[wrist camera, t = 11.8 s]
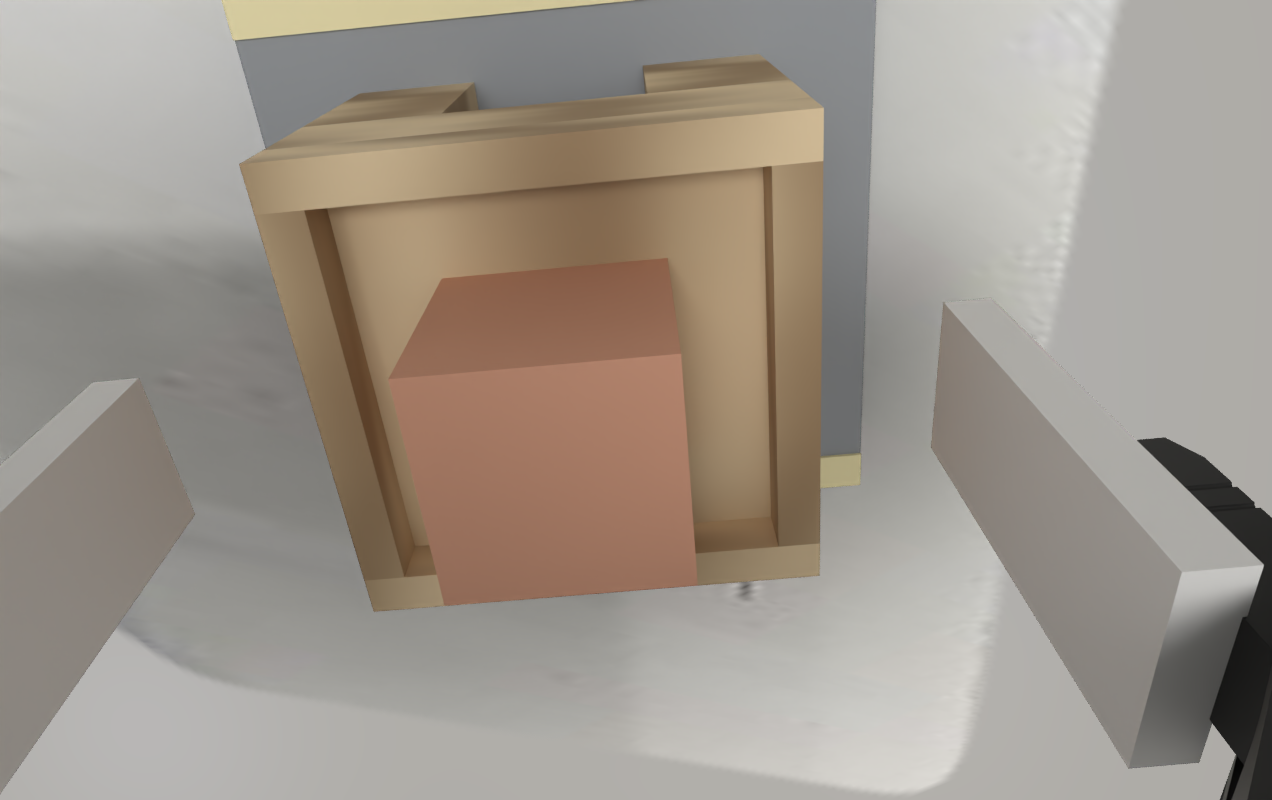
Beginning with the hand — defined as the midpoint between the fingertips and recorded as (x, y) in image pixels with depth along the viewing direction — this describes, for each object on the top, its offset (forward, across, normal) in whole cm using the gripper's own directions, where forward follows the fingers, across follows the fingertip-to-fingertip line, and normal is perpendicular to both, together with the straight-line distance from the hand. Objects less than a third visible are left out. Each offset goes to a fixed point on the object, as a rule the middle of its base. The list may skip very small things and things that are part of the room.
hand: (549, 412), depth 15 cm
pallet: (+8, 0, 0) cm, 8 cm away
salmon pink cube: (+2, 0, 0) cm, 2 cm away
